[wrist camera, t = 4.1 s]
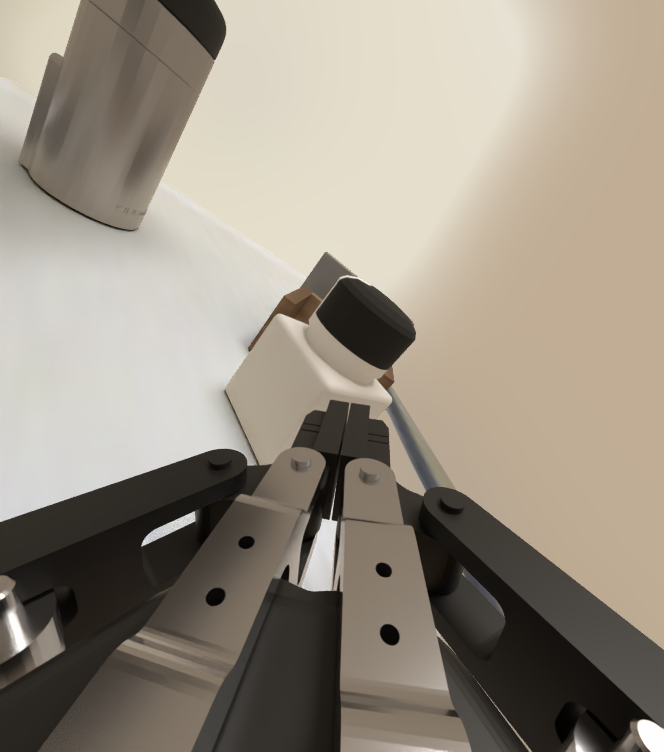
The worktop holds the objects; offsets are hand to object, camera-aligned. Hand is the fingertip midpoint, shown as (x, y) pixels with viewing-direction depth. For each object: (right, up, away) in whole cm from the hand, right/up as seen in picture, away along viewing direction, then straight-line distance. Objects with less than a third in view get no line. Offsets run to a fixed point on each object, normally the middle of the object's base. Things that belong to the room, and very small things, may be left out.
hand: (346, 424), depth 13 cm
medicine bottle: (-5, -2, +12) cm, 13 cm away
